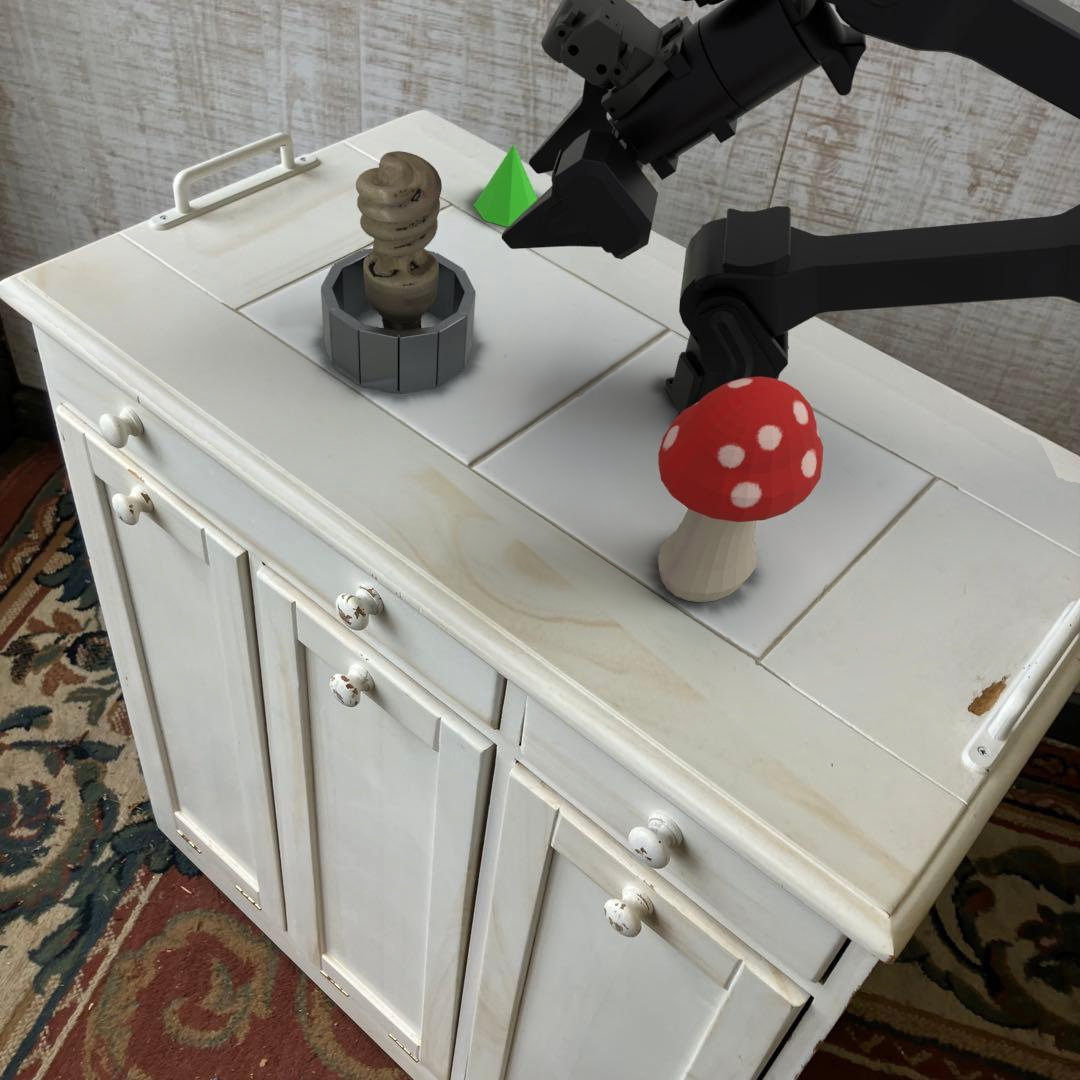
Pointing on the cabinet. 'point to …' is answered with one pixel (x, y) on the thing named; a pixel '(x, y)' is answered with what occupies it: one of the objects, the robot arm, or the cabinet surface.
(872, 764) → the cabinet surface
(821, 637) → the cabinet surface
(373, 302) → the light bulb
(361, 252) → the faceted gray ring
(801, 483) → the decorative mushroom
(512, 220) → the green faceted cone
